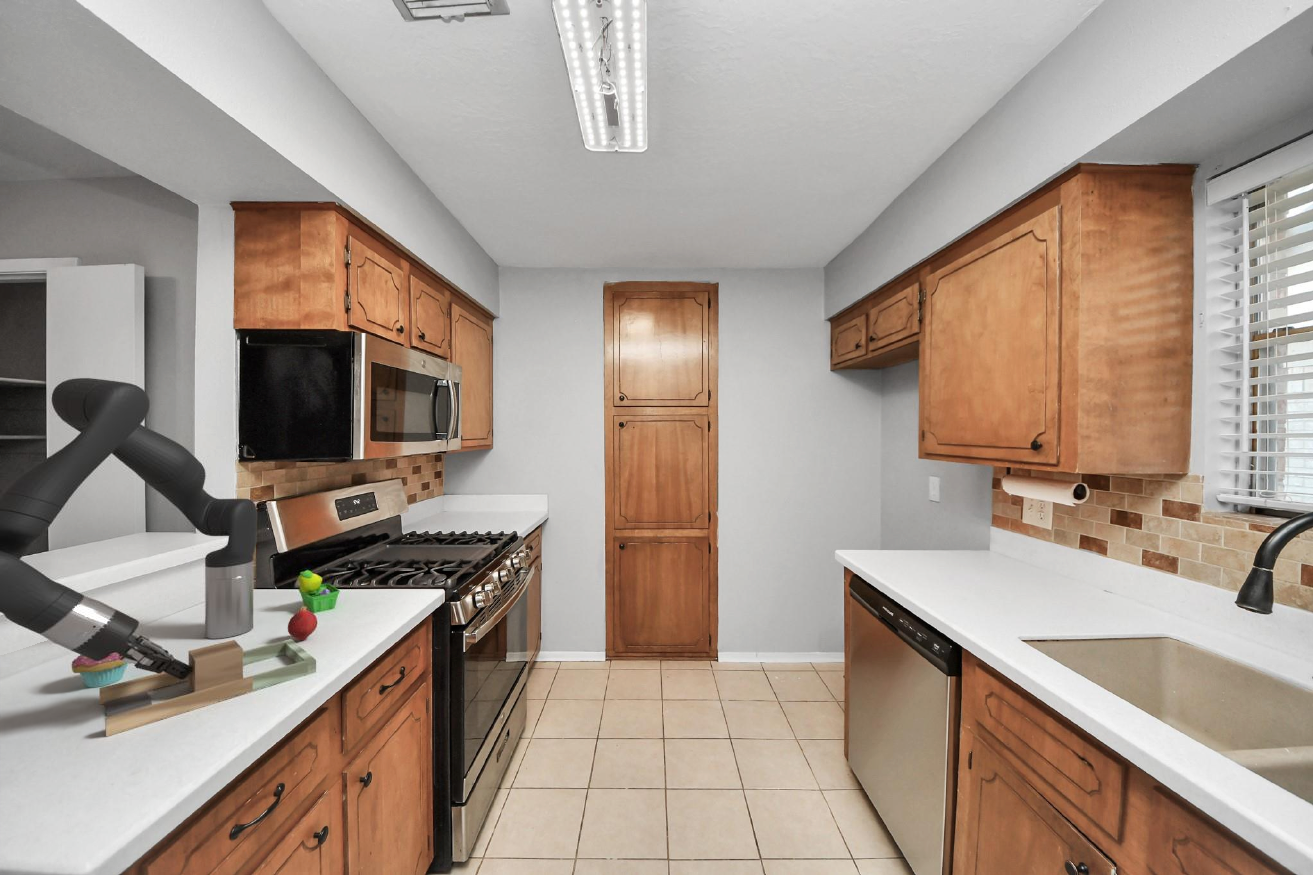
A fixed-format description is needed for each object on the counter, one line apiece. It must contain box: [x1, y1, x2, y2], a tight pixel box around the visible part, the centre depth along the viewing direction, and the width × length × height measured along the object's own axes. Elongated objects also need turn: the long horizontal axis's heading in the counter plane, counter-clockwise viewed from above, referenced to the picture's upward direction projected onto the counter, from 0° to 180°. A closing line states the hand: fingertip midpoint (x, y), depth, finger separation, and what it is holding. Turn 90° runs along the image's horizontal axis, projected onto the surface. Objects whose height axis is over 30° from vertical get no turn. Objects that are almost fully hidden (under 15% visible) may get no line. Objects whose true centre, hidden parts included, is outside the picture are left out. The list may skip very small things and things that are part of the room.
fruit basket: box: [297, 569, 341, 614], centre depth 144 cm, size 11×9×11 cm
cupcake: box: [71, 652, 129, 688], centre depth 101 cm, size 9×8×12 cm
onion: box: [287, 605, 318, 641], centre depth 121 cm, size 6×6×8 cm
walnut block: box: [188, 639, 244, 693], centre depth 99 cm, size 7×7×7 cm
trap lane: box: [99, 638, 317, 737], centre depth 99 cm, size 17×30×2 cm, turn 140°
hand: (187, 673), depth 96 cm, fingers closed
